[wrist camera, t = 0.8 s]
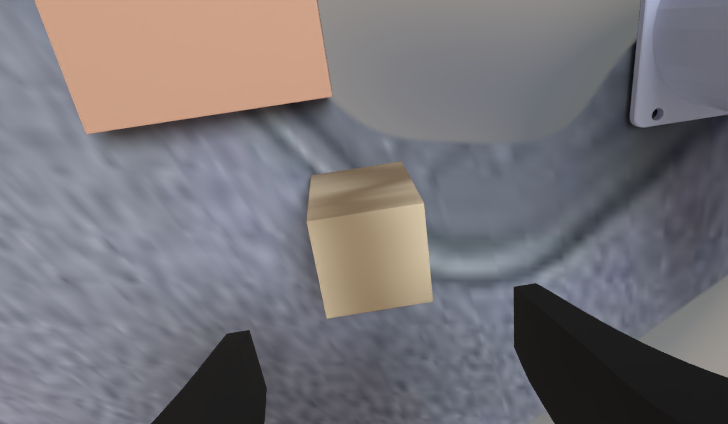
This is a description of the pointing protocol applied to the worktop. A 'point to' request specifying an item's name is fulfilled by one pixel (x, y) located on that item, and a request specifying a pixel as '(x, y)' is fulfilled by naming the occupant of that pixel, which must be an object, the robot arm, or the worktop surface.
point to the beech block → (369, 239)
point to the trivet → (184, 57)
